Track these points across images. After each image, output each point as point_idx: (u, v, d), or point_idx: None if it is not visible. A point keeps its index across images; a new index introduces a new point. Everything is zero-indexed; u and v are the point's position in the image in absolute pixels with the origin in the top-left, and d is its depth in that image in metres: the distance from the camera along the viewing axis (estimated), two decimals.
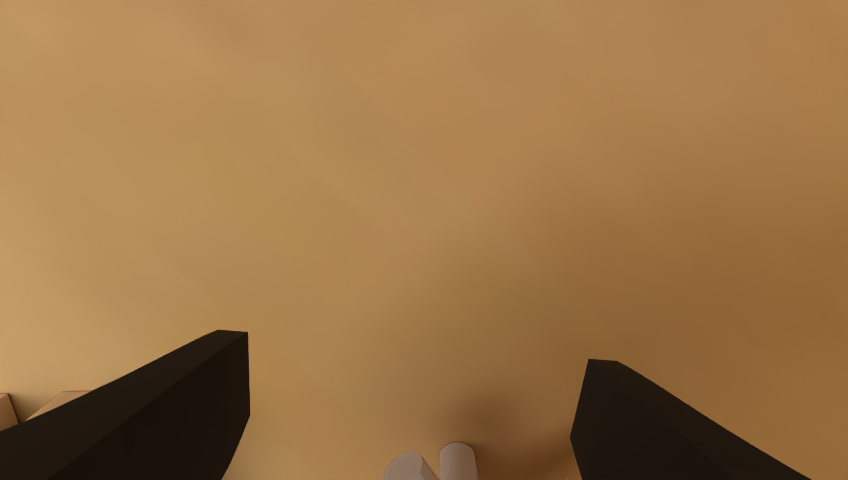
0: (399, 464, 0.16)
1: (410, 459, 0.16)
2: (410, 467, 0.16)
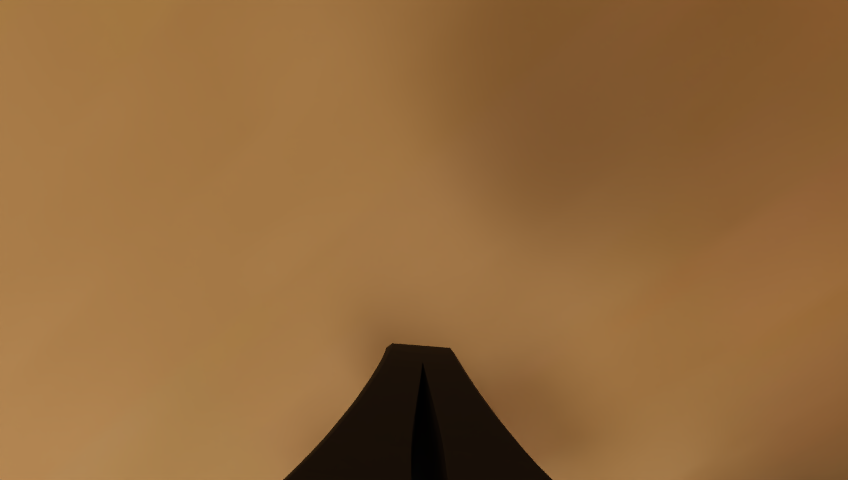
0: None
1: None
2: None
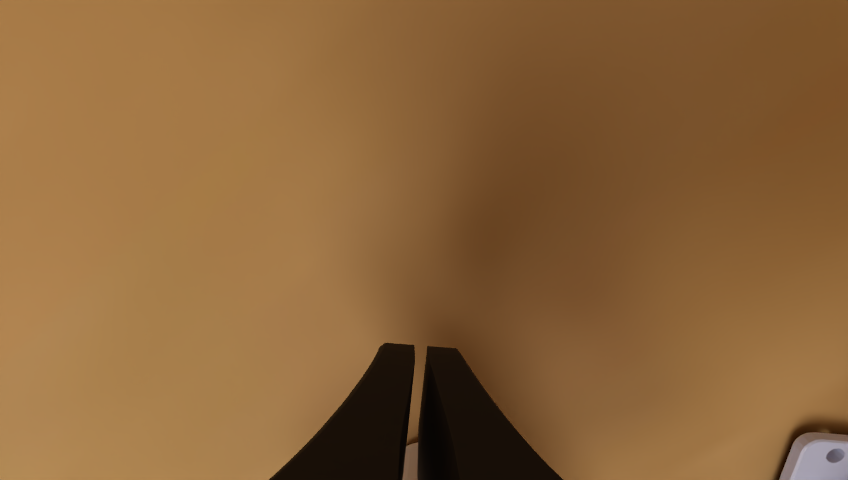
0: None
1: None
2: None
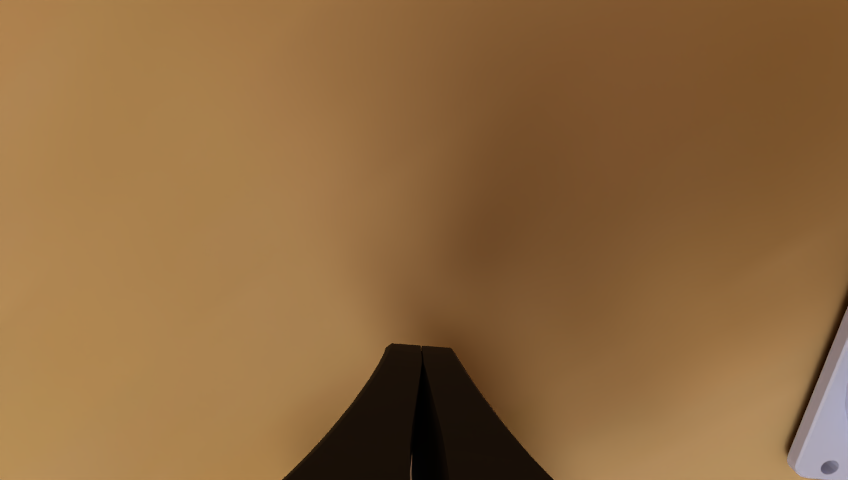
0: None
1: None
2: None
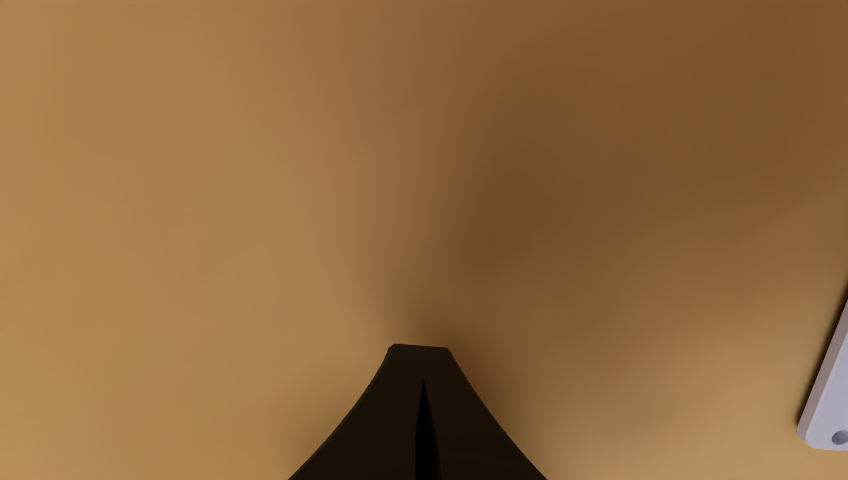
0: None
1: None
2: None
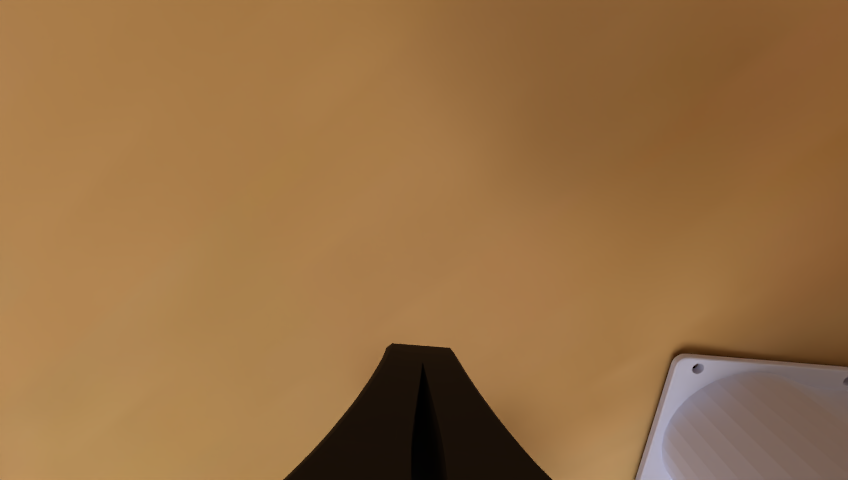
0: None
1: None
2: None
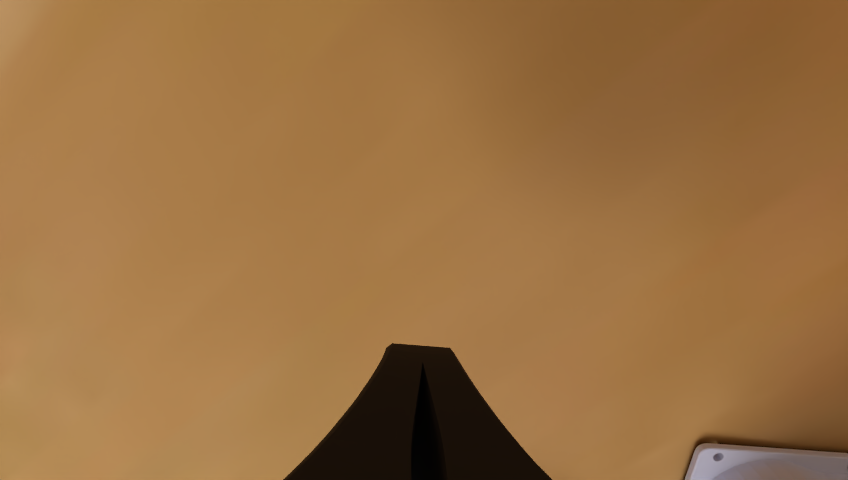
0: None
1: None
2: None
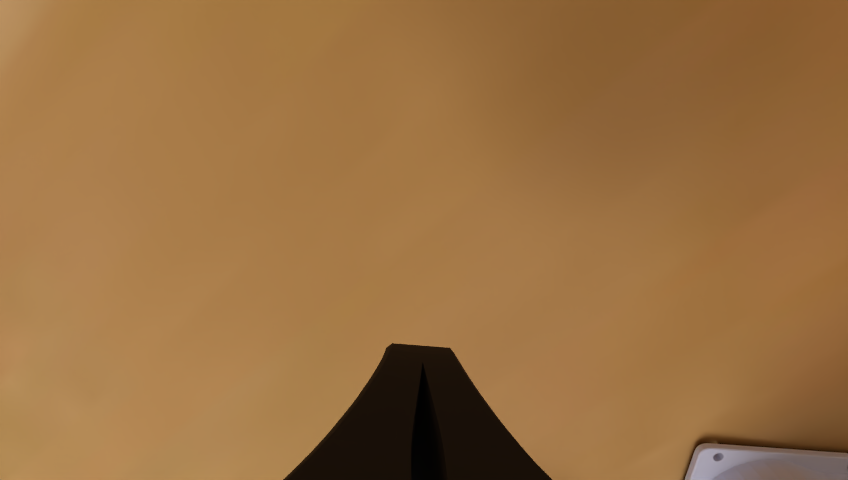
0: None
1: None
2: None
